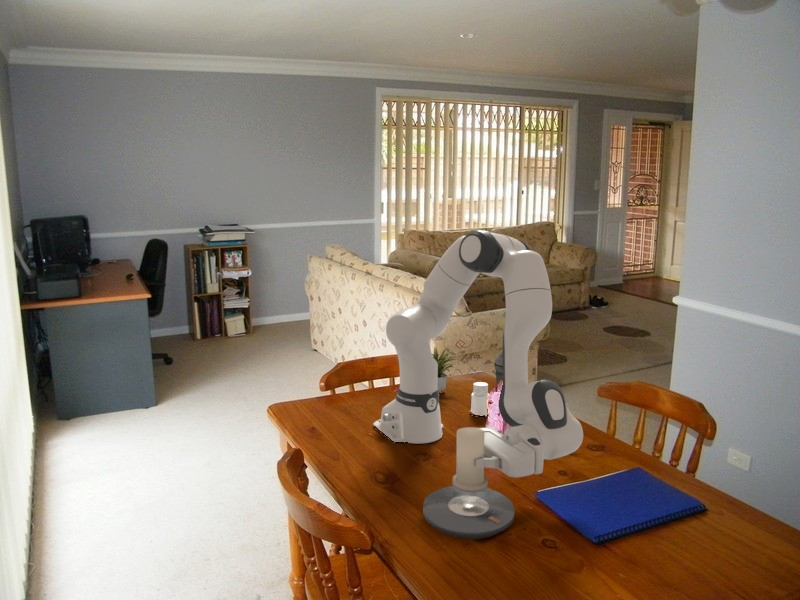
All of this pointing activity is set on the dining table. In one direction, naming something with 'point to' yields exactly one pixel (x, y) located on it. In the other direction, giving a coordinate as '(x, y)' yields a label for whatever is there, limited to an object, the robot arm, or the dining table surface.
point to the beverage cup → (499, 367)
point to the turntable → (468, 511)
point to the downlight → (479, 398)
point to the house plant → (442, 368)
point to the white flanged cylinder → (469, 460)
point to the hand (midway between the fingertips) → (466, 456)
